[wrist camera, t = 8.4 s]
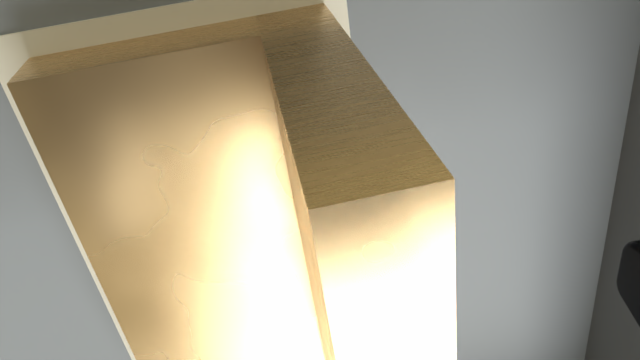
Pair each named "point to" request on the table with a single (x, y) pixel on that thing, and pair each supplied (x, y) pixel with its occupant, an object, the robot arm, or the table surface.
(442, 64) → the arena
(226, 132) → the bracket
